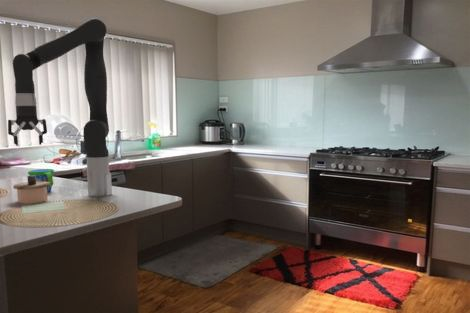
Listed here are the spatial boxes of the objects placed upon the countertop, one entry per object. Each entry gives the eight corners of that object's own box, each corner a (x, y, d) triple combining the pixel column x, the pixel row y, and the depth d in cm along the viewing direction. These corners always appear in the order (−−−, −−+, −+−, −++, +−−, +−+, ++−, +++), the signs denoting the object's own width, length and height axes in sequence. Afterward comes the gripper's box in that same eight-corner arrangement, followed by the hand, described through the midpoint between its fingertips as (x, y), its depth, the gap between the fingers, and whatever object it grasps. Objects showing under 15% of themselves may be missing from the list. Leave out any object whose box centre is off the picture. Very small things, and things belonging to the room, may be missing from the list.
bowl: (52, 199, 177) (51, 183, 176) (39, 204, 166) (38, 188, 165) (27, 199, 177) (26, 183, 177) (12, 204, 166) (11, 188, 166)
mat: (67, 210, 156) (67, 208, 156) (23, 215, 149) (23, 213, 149) (62, 202, 169) (62, 201, 169) (21, 207, 162) (21, 205, 162)
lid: (56, 183, 177) (55, 173, 177) (39, 189, 164) (39, 178, 163) (25, 183, 178) (24, 173, 178) (6, 189, 164) (5, 178, 164)
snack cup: (24, 191, 194) (22, 169, 193) (46, 188, 202) (45, 167, 201) (37, 195, 184) (36, 173, 183) (61, 192, 191) (59, 170, 190)
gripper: (44, 105, 175) (47, 143, 177) (6, 105, 168) (9, 145, 170) (45, 104, 168) (48, 144, 170) (5, 105, 162) (8, 146, 163)
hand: (28, 144), depth 170 cm, fingers open, 8 cm apart
